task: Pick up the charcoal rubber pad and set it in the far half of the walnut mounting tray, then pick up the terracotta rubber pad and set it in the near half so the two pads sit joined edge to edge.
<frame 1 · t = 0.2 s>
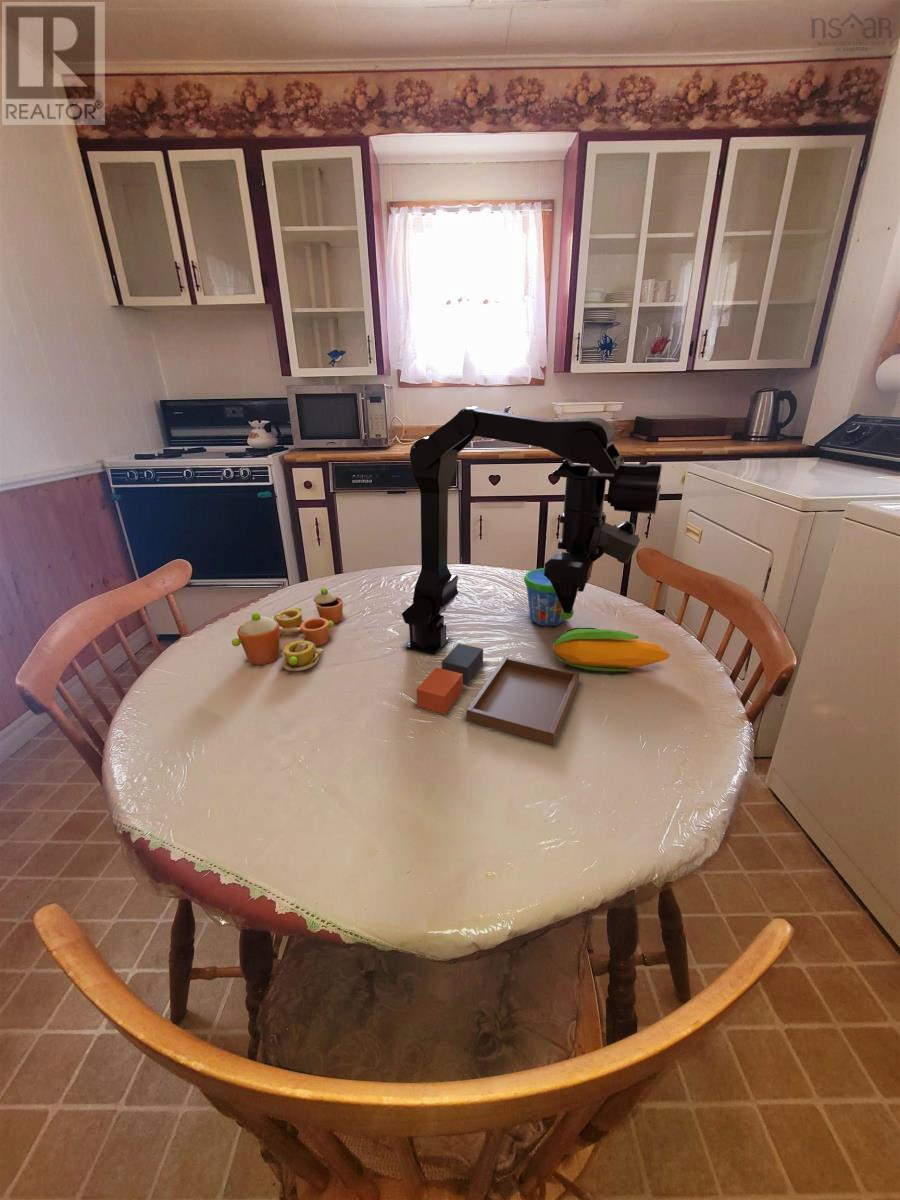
hand: (574, 601, 79), 15 cm above the table, tool pointing down, fingers open, 9 cm apart
corn: (607, 667, 88), on the table
pad a: (463, 671, 88), on the table
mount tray: (525, 700, 79), on the table
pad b: (440, 698, 80), on the table
snack cup: (547, 620, 105), on the table
toy tea set: (299, 641, 99), on the table
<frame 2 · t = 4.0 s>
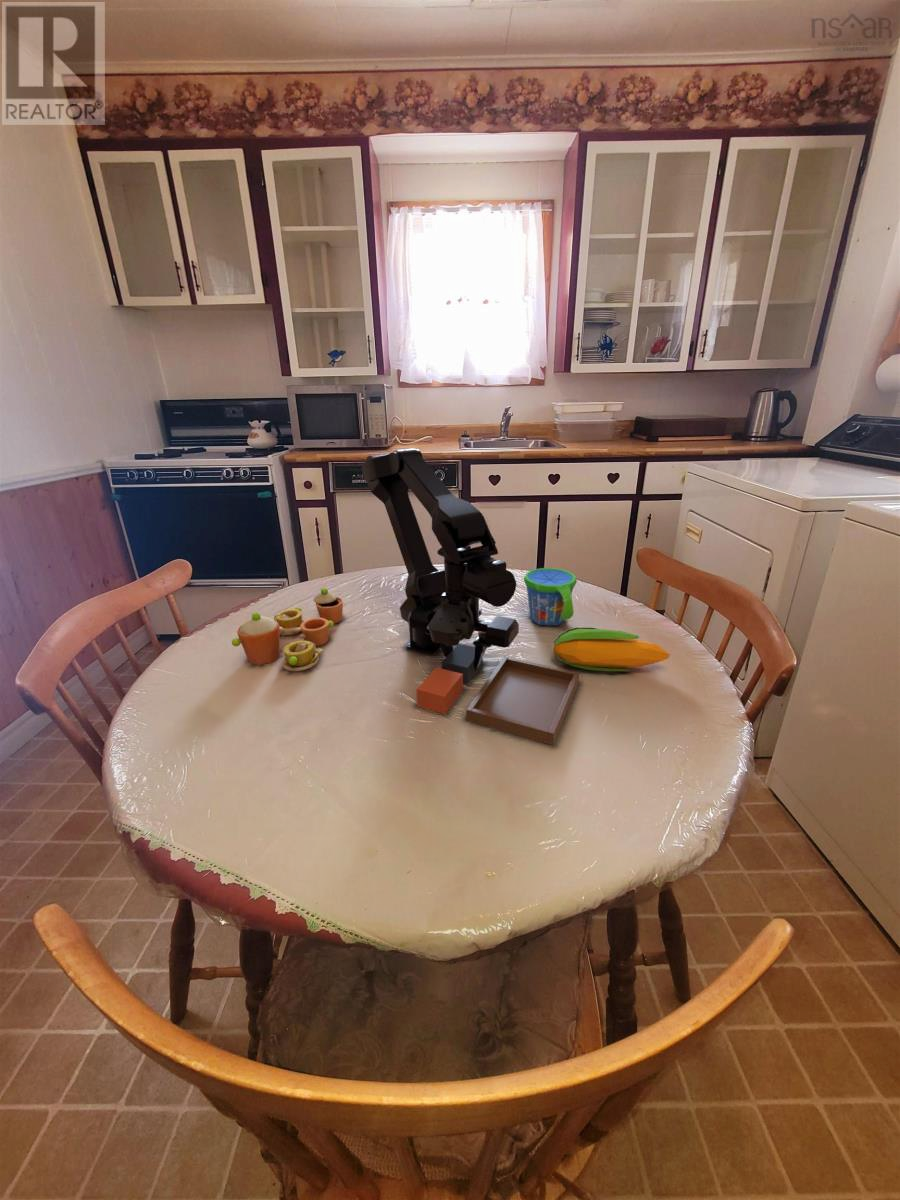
hand: (462, 665, 87), 1 cm above the table, tool pointing down, fingers closed on pad a, 5 cm apart
pad a: (463, 671, 88), on the table, touching gripper
everything else where it was.
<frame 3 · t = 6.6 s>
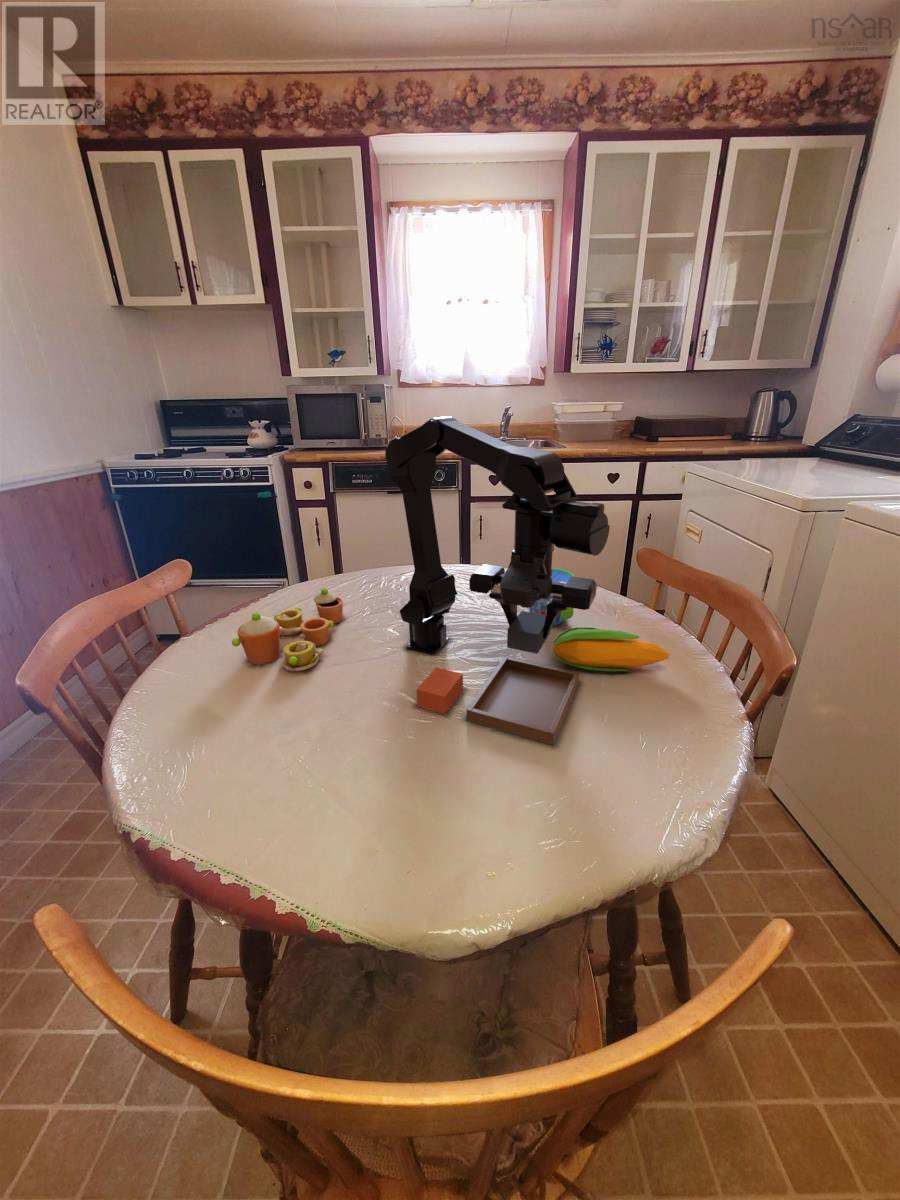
hand: (529, 634, 78), 10 cm above the table, tool pointing down, fingers closed on pad a, 5 cm apart
pad a: (528, 640, 78), point 9 cm above the table, touching gripper
everything else where it was.
when the fingers open (2 cm above the table, at t = 9.0 s): pad a stays where it is, resting on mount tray.
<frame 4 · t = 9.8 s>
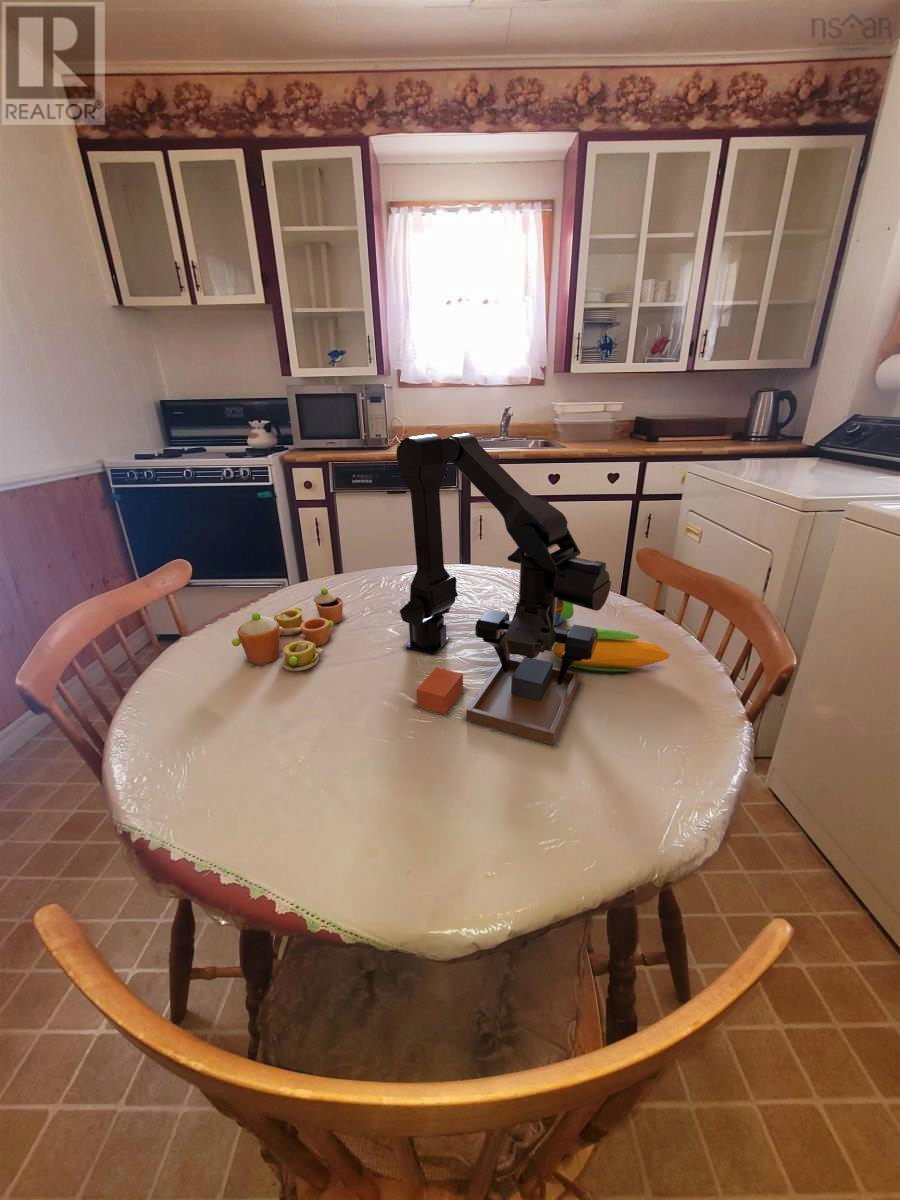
hand: (532, 677, 81), 2 cm above the table, tool pointing down, fingers open, 9 cm apart
pad a: (531, 686, 82), point 1 cm above the table, touching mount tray
everything else where it was.
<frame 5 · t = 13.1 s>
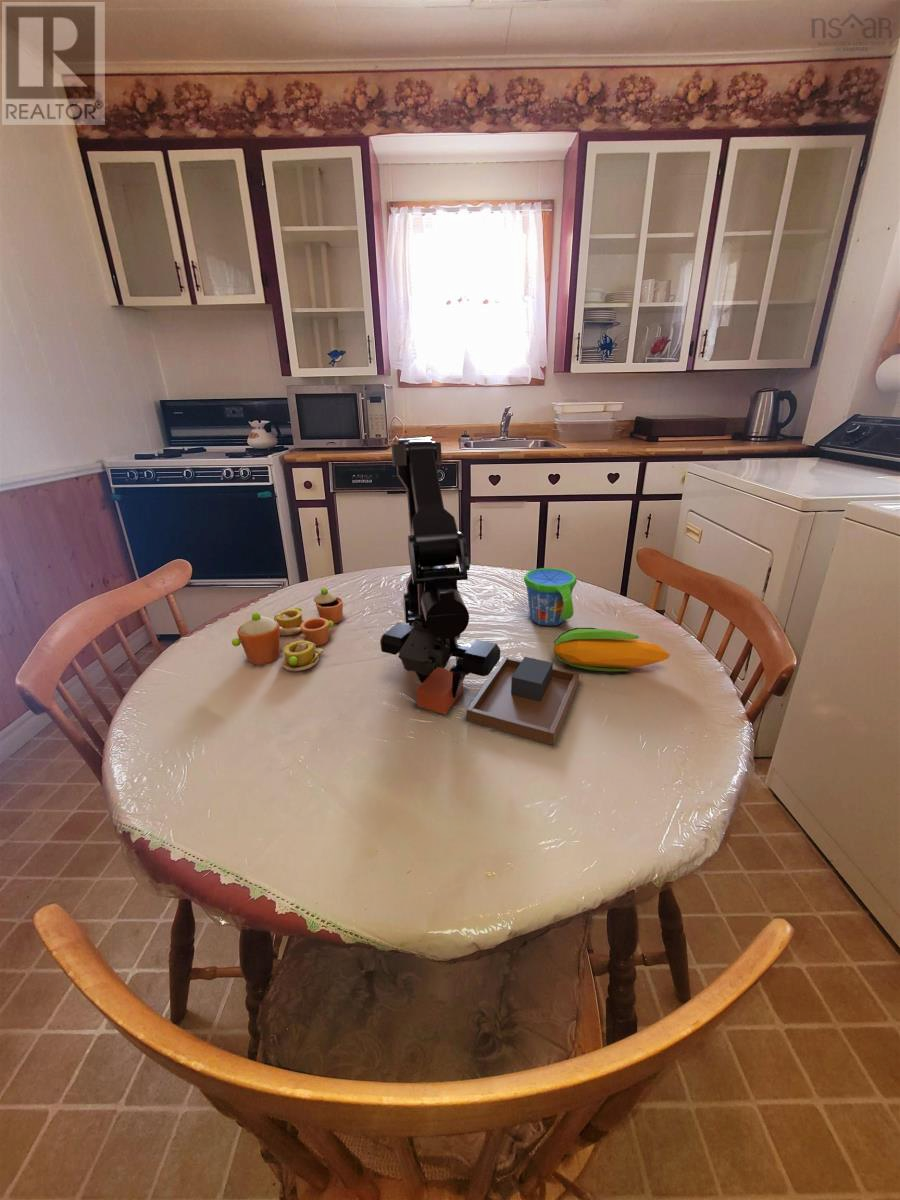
hand: (440, 692, 80), 1 cm above the table, tool pointing down, fingers closed on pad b, 5 cm apart
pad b: (440, 698, 80), on the table, touching gripper
everything else where it was.
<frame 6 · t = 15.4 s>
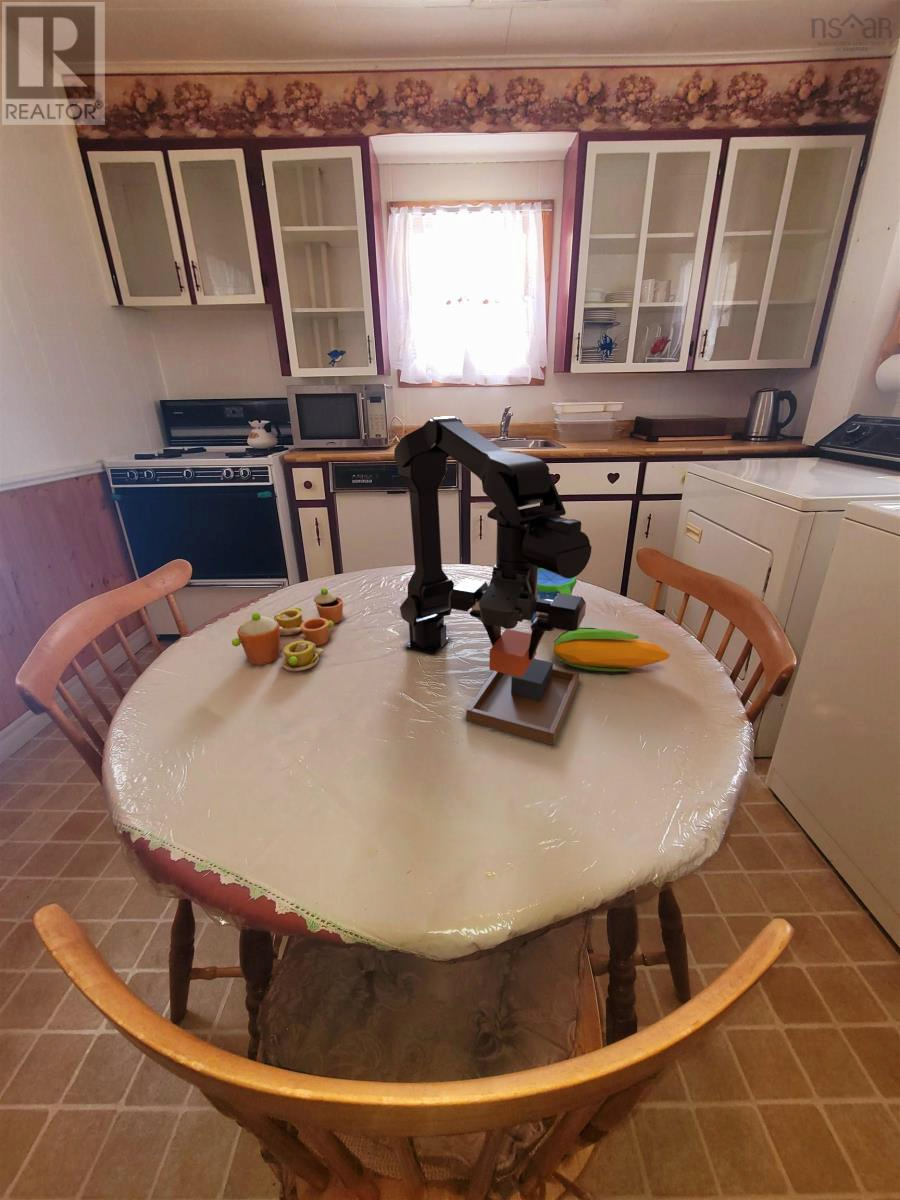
hand: (513, 654, 72), 11 cm above the table, tool pointing down, fingers closed on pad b, 5 cm apart
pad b: (513, 661, 73), point 9 cm above the table, touching gripper
everything else where it was.
when the fingers open (2 cm above the table, at t = 17.8 s): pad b stays where it is, resting on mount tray.
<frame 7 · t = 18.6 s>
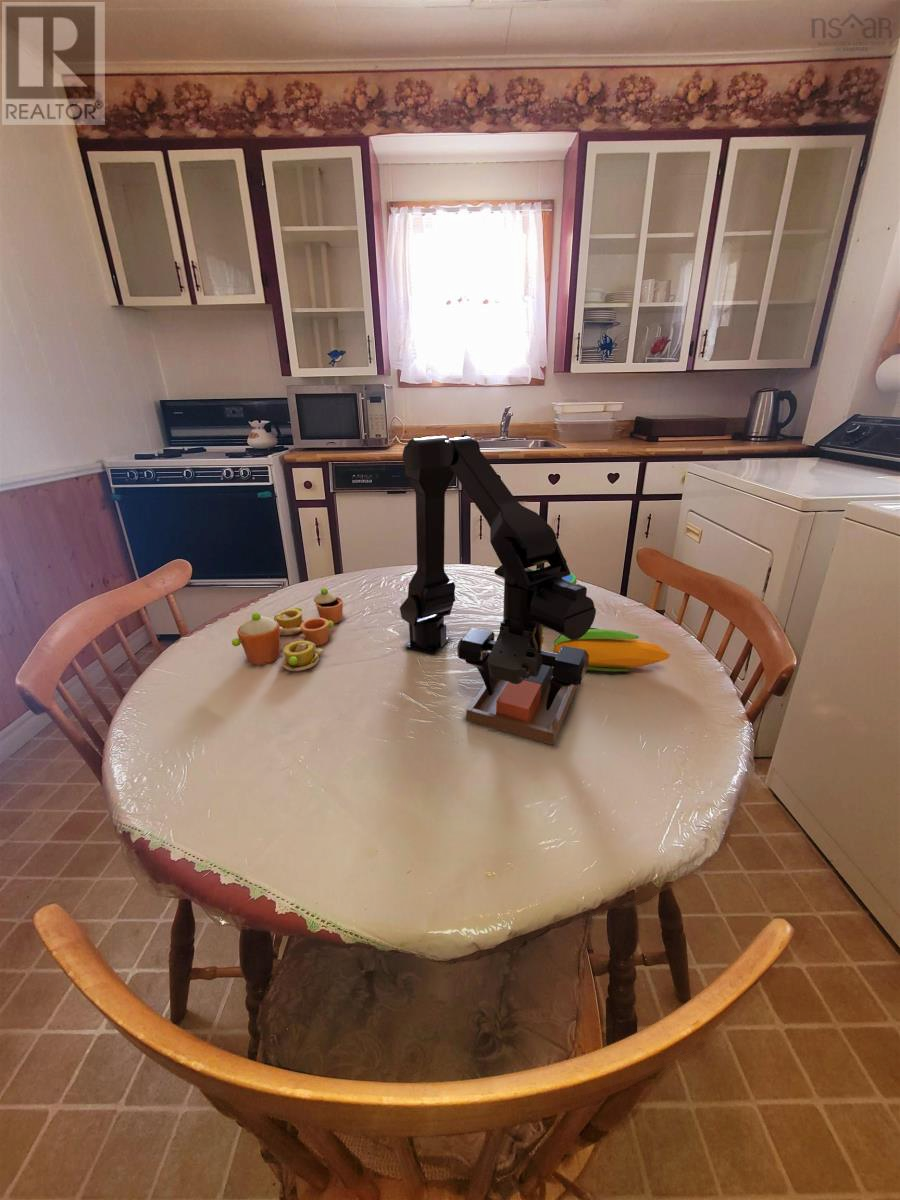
hand: (519, 701, 75), 2 cm above the table, tool pointing down, fingers open, 9 cm apart
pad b: (518, 710, 76), point 1 cm above the table, touching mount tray
everything else where it was.
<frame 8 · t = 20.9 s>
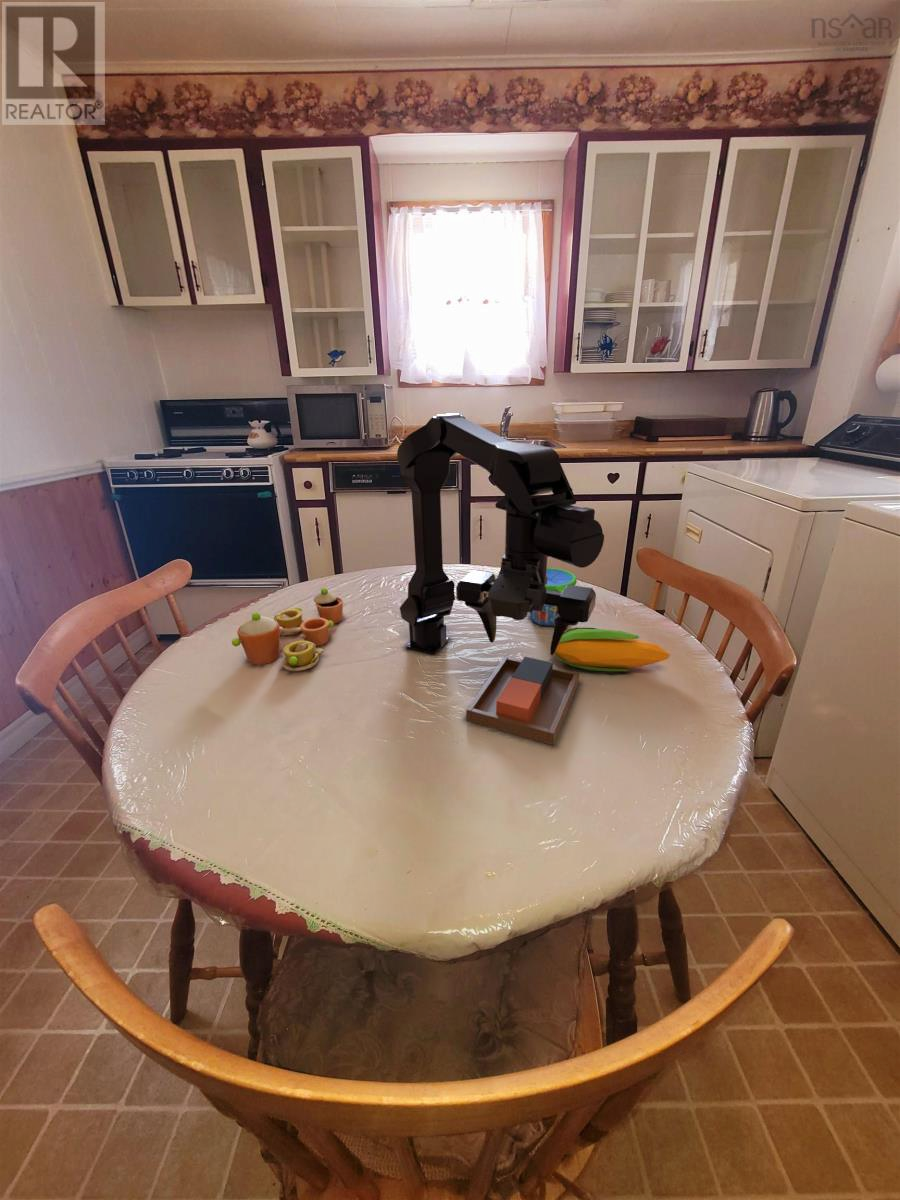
hand: (521, 647, 71), 12 cm above the table, tool pointing down, fingers open, 9 cm apart
nothing on the table moved.
at the end: pad a inside the target area in the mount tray (3.5 cm from its centre), point 0.6 cm above the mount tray's base; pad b inside the target area in the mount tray (3.6 cm from its centre), point 0.6 cm above the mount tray's base; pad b 7.0 cm from the pad a (horizontally) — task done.
